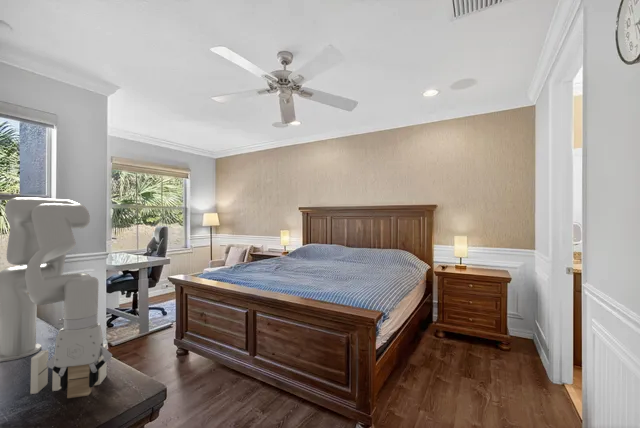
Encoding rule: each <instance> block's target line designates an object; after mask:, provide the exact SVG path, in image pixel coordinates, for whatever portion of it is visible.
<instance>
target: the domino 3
mask: <svg viewBox="0 0 640 428" xmlns="http://www.w3.org/2000/svg"><path fill="white" fill-rule="evenodd" d="M90 373H91V368H90V366H89V365H81V366H73V367H68V388H67V389H66V393H67V396H66V398H67V399H73V398H80V397H86V396H89V395H91V393H92V387H89V374H90Z"/></svg>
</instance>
